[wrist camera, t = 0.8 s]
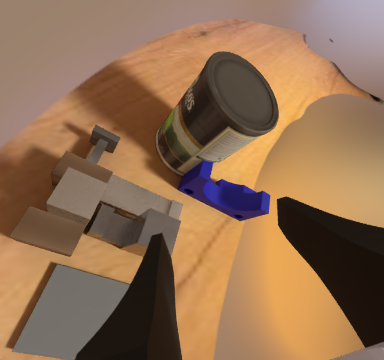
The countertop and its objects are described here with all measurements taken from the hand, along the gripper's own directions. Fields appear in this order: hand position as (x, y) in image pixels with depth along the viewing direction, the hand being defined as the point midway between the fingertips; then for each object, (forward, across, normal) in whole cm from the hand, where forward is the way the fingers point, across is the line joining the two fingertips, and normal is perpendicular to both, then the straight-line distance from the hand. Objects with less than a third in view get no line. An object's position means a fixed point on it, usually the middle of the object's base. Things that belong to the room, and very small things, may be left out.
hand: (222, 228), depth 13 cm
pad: (+5, +13, +11) cm, 18 cm away
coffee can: (+24, 0, +2) cm, 24 cm away
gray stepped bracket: (+12, +10, +7) cm, 17 cm away
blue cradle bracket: (+20, -3, +10) cm, 22 cm away
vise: (+14, +13, +1) cm, 19 cm away
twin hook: (+13, +10, +5) cm, 17 cm away
